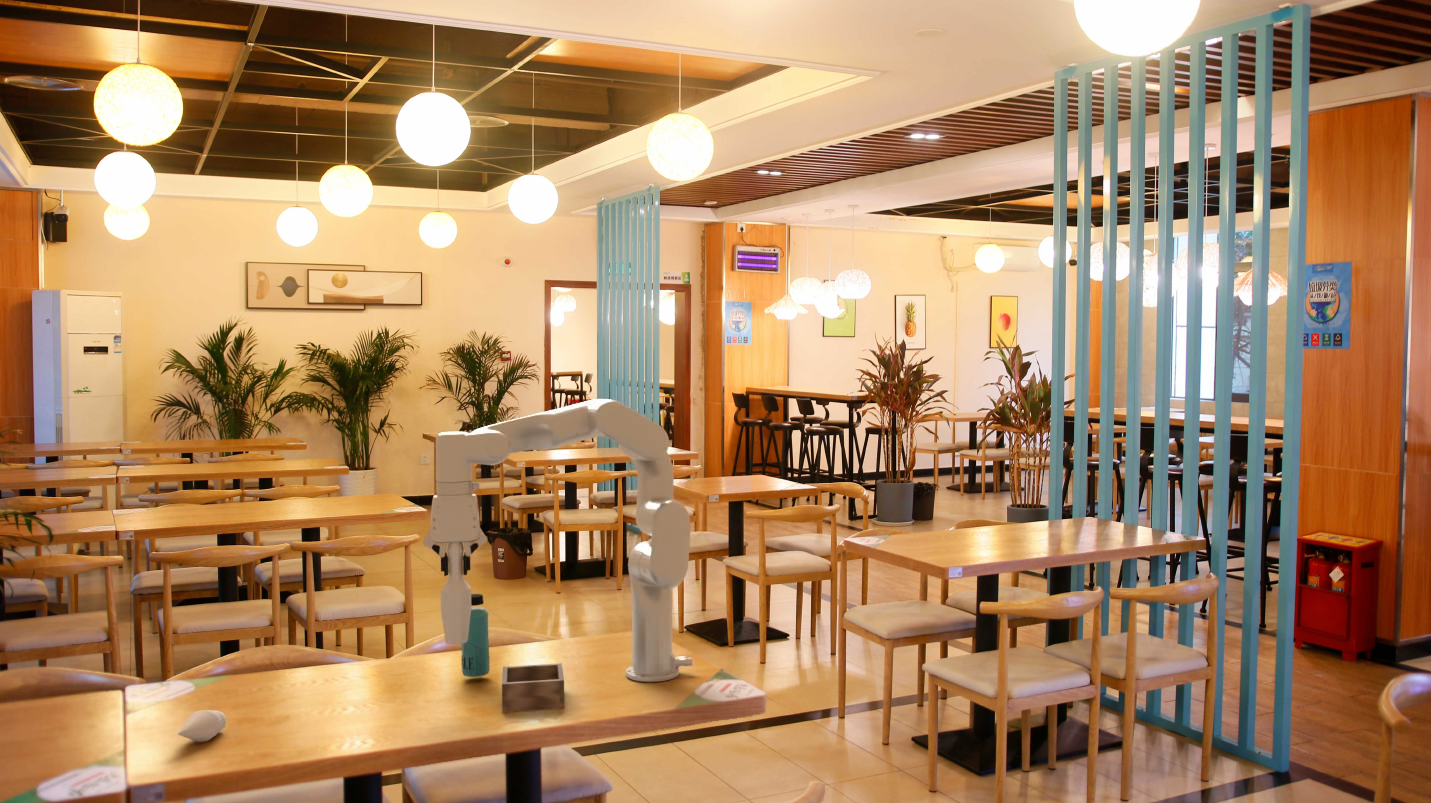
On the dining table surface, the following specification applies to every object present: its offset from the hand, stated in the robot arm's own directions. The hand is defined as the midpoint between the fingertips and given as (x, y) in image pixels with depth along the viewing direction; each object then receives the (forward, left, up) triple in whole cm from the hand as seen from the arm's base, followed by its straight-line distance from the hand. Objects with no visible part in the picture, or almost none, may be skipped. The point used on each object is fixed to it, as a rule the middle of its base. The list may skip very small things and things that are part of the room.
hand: (455, 573), depth 219 cm
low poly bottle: (0, 0, -15) cm, 15 cm away
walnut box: (-16, 0, -29) cm, 33 cm away
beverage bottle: (-3, -18, -29) cm, 34 cm away
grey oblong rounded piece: (+48, +13, -29) cm, 57 cm away
